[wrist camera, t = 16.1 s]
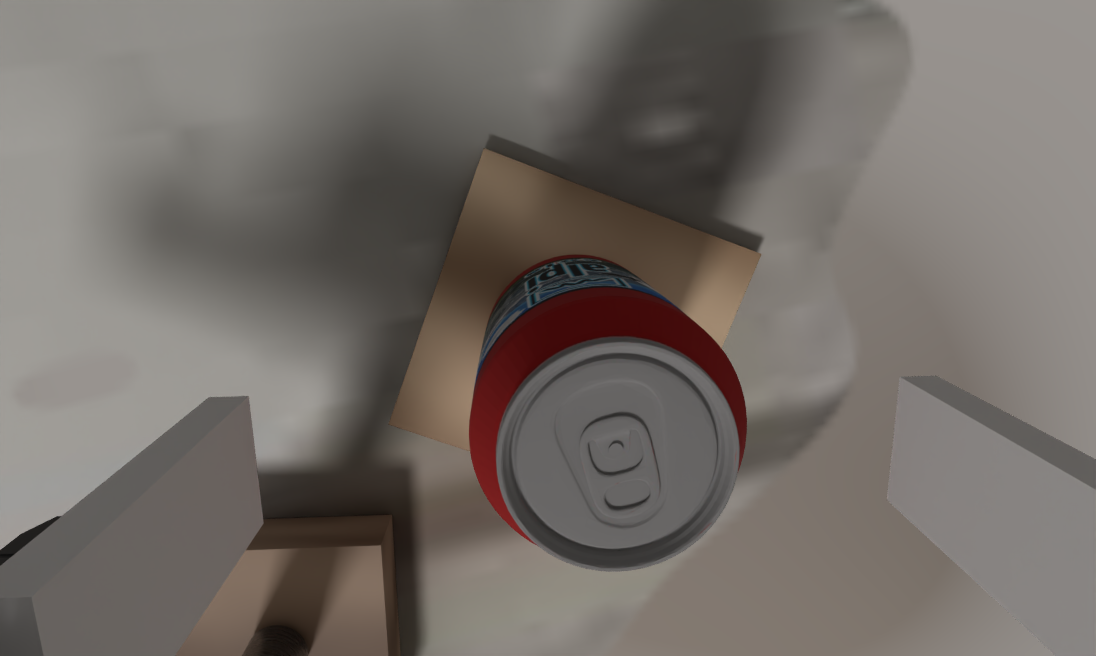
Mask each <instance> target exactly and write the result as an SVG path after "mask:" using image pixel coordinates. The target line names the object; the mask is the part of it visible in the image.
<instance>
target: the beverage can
mask: <svg viewBox="0 0 1096 656" xmlns="http://www.w3.org/2000/svg"><path fill="white" fill-rule="evenodd" d="M746 433H747V417H746V407H745V400H744V396H743V392H742V388H741V385H740V382H739V379H738V377H737V374H736V372H735V370H734V368H733V366H732V364H731V362H730V361H729V359H728V357H727V356H726V354H725V353H724V351H723V350H722V349H721V347H720V346H719V345H718V344H717V342H716V341H715V340H714V339H713V338H712V337H711V336H710V335H709V334H708V333H707V332H706V331H705V330H704V329H703V328H702V327H700V326H699V325H698V324H697V323H696V322H695V321H693V320H692V319H691V318H690V317H689V316H687V315H686V314H685V313H684V312H683V311H682V310H680V309H679V308H678V307H677V306H675V305H674V304H673V303H672V302H670V301H669V300H668V299H666V298H665V297H664V296H663V295H661V294H660V293H659V292H658V291H656V290H655V289H654V288H652V287H651V286H650V285H648V284H647V283H646V282H644V281H643V280H642V279H640V278H639V277H637V276H636V275H634V274H633V273H632V272H630V271H629V270H627V269H626V268H624V267H622V266H620V265H619V264H617V263H614V262H612V261H610V260H607V259H604V258H601V257H596V256H591V255H579V254H575V255H563V256H558V257H553V258H550V259H547V260H544V261H542V262H539V263H537V264H535V265H533V266H531V267H529V268H528V269H526V270H525V271H523V272H522V273H521V274H519V275H518V276H517V277H516V278H515V279H513V280H512V281H511V282H510V283H509V285H508V286H507V287H506V288H505V289H504V290H503V292H502V293H501V294H500V296H499V298H498V299H497V301H496V303H495V305H494V307H493V309H492V311H491V314H490V316H489V320H488V323H487V327H486V331H485V335H484V339H483V344H482V349H481V353H480V358H479V363H478V368H477V374H476V380H475V385H474V392H473V399H472V405H471V412H470V420H469V446H470V453H471V459H472V463H473V467H474V470H475V473H476V476H477V479H478V481H479V483H480V486H481V488H482V490H483V492H484V494H485V495H486V497H487V499H488V500H489V502H490V503H491V505H492V506H493V508H494V509H495V510H496V511H497V513H498V514H499V515H500V516H501V517H502V518H503V519H504V520H505V521H506V522H507V523H508V524H509V525H510V526H511V527H512V528H513V529H514V530H515V531H516V532H518V533H519V534H520V535H521V536H523V537H524V538H526V539H527V540H529V541H530V542H532V543H534V544H535V545H537V546H539V547H540V548H542V549H543V550H544V551H546V552H547V553H549V554H551V555H552V556H554V557H556V558H558V559H560V560H562V561H564V562H566V563H569V564H572V565H575V566H579V567H582V568H586V569H591V570H598V571H629V570H636V569H641V568H645V567H649V566H652V565H655V564H658V563H661V562H663V561H666V560H668V559H670V558H672V557H674V556H676V555H677V554H679V553H681V552H683V551H684V550H686V549H687V548H688V547H690V546H691V545H693V544H694V543H695V542H696V541H697V540H699V539H700V538H701V537H702V536H703V535H704V534H705V533H706V532H707V531H708V530H709V529H710V527H711V526H712V525H713V524H714V523H715V522H716V520H717V519H718V517H719V516H720V514H721V513H722V511H723V509H724V508H725V506H726V504H727V502H728V500H729V498H730V495H731V493H732V491H733V488H734V485H735V481H736V477H737V473H738V471H739V468H740V465H741V461H742V458H743V454H744V449H745V442H746Z"/></svg>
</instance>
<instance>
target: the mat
mask: <svg viewBox="0 0 1096 656" xmlns="http://www.w3.org/2000/svg"><path fill="white" fill-rule="evenodd" d="M575 254H579V255H591V256H596V257H601V258H604V259H607V260H610V261H612V262H614V263H617V264H619V265H620V266H622V267H624V268H626V269H627V270H629V271H630V272H632V273H633V274H634V275H636V276H637V277H639V278H640V279H642V280H643V281H644V282H646V283H647V284H648V285H650V286H651V287H652V288H654V289H655V290H656V291H658V292H659V293H660V294H661V295H663V296H664V297H665V298H666V299H668V300H669V301H670V302H672V303H673V304H674V305H675V306H677V307H678V308H679V309H680V310H682V311H683V312H684V313H685V314H686V315H687V316H689V317H690V318H691V319H692V320H693V321H695V322H696V323H697V324H698V325H699V326H700V327H702V328H703V329H704V330H705V331H706V332H707V333H708V334H709V335H710V336H711V337H712V338H713V339H714V340H715V341H716V342H717V344H718V345H719V346H720V347H721V348H722V346H723V343H724V341H725V339H726V336H727V334H728V332H729V329H730V327H731V325H732V322H733V320H734V318H735V315H736V313H737V311H738V308H739V306H740V303H741V301H742V299H743V296H744V294H745V292H746V289H747V287H748V285H749V282H750V280H751V278H752V275H753V273H754V271H755V268H756V266H757V264H758V261H759V259H760V257H761V254H760V253H757V252H755V251H752V250H749V249H747V248H744V247H742V246H739V245H736V244H734V243H731V242H728V241H726V240H723V239H721V238H718V237H715V236H713V235H710V234H707V233H705V232H702V231H700V230H697V229H694V228H692V227H689V226H687V225H684V224H681V223H679V222H676V221H673V220H671V219H668V218H666V217H663V216H660V215H658V214H655V213H652V212H650V211H647V210H645V209H642V208H639V207H637V206H634V205H631V204H629V203H626V202H624V201H621V200H618V199H616V198H613V197H611V196H608V195H605V194H603V193H600V192H597V191H595V190H592V189H590V188H587V187H584V186H582V185H579V184H576V183H574V182H571V181H569V180H566V179H563V178H561V177H558V176H555V175H553V174H550V173H548V172H545V171H542V170H540V169H537V168H535V167H532V166H529V165H527V164H524V163H521V162H519V161H516V160H514V159H511V158H508V157H506V156H503V155H500V154H498V153H495V152H493V151H490V150H487V149H485V148H484V149H483V152H482V155H481V158H480V161H479V164H478V166H477V169H476V172H475V175H474V178H473V181H472V184H471V187H470V190H469V192H468V195H467V198H466V201H465V204H464V207H463V210H462V213H461V216H460V219H459V221H458V224H457V227H456V230H455V233H454V236H453V239H452V242H451V245H450V247H449V250H448V253H447V256H446V259H445V262H444V265H443V268H442V271H441V274H440V276H439V279H438V282H437V285H436V288H435V291H434V294H433V297H432V300H431V302H430V305H429V308H428V311H427V314H426V317H425V320H424V323H423V326H422V329H421V331H420V334H419V337H418V340H417V343H416V346H415V349H414V352H413V355H412V357H411V360H410V363H409V366H408V369H407V372H406V375H405V378H404V381H403V384H402V386H401V389H400V392H399V395H398V398H397V401H396V404H395V407H394V410H393V412H392V415H391V418H390V421H389V425H392V426H395V427H398V428H401V429H404V430H407V431H410V432H413V433H416V434H419V435H422V436H425V437H428V438H431V439H434V440H437V441H440V442H443V443H446V444H449V445H452V446H455V447H458V448H461V449H464V450H467V451H470V446H469V420H470V412H471V405H472V399H473V392H474V385H475V380H476V374H477V368H478V363H479V358H480V353H481V349H482V344H483V339H484V335H485V331H486V327H487V323H488V320H489V316H490V314H491V311H492V309H493V307H494V305H495V303H496V301H497V299H498V298H499V296H500V294H501V293H502V292H503V290H504V289H505V288H506V287H507V286H508V285H509V283H510V282H511V281H512V280H513V279H515V278H516V277H517V276H518V275H519V274H521V273H522V272H523V271H525V270H526V269H528V268H529V267H531V266H533V265H535V264H537V263H539V262H542V261H544V260H547V259H550V258H553V257H558V256H563V255H575Z"/></svg>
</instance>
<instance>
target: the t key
mask: <svg viewBox="0 0 1096 656" xmlns="http://www.w3.org/2000/svg"><path fill="white" fill-rule="evenodd" d="M242 656H308V647H307V644H306V642H305V640H304V638H303V637H302V636H301V635H300V634H299V633H298V632H297V631H295V630H294V629H292V628H290V627H287V626H282V625H272V626H267V627H264V628H262V629H261V630H259V631H258V632H256V633H255V634H254V636H253V637H252V638H251V640H250V642H249V644H248V645H247V647H246V649H245V651H244V652H243V654H242Z"/></svg>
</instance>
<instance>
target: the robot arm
mask: <svg viewBox="0 0 1096 656" xmlns="http://www.w3.org/2000/svg"><path fill="white" fill-rule="evenodd" d="M887 500H888V501H889V502H890V503H891V504H892V505H893V506H894V507H895V508H896V509H897V510H898V511H899V512H900V513H902V514H903V515H904V516H905V517H906V518H907V519H908V520H909V521H910V522H911V523H912V524H913V525H915V526H916V527H917V528H918V529H919V530H920V531H921V532H922V533H923V534H924V535H925V536H926V537H928V538H929V539H930V540H931V541H932V542H933V543H934V544H935V545H936V546H937V547H938V548H939V549H941V550H942V551H943V552H944V553H945V554H946V555H947V556H948V557H949V558H950V559H951V560H952V561H954V562H955V563H956V564H957V565H958V566H959V567H960V568H961V569H962V570H963V571H964V572H965V573H967V574H968V575H969V576H970V577H971V578H972V579H973V580H974V581H975V582H976V583H977V584H978V585H980V586H981V587H982V588H983V589H984V590H985V591H986V592H987V593H988V594H989V595H990V596H992V598H994V599H995V600H996V601H997V602H998V603H999V604H1000V605H1001V606H1002V607H1003V608H1004V609H1005V610H1007V611H1008V612H1009V613H1010V614H1011V615H1012V616H1013V617H1014V618H1015V619H1016V620H1017V621H1019V622H1020V623H1021V624H1022V625H1023V626H1024V627H1025V628H1026V629H1027V630H1028V631H1029V632H1030V633H1031V634H1033V635H1034V636H1035V637H1036V638H1037V639H1038V640H1039V641H1040V642H1041V643H1042V644H1043V645H1044V646H1046V647H1047V648H1048V649H1049V650H1050V651H1051V652H1052V653H1053V654H1054V655H1055V656H1096V459H1094V458H1092V457H1090V456H1088V455H1086V454H1085V453H1083V452H1081V451H1078V450H1077V449H1075V448H1073V447H1071V446H1069V445H1067V444H1065V443H1063V442H1062V441H1060V440H1058V439H1056V438H1054V437H1052V436H1050V435H1048V434H1046V433H1044V432H1042V431H1041V430H1039V429H1037V428H1035V427H1033V426H1031V425H1029V424H1027V423H1025V422H1023V421H1022V420H1020V419H1018V418H1016V417H1014V416H1012V415H1010V414H1008V413H1006V412H1004V411H1003V410H1001V409H999V408H997V407H995V406H993V405H991V404H989V403H987V402H985V401H983V400H981V399H980V398H978V397H976V396H974V395H972V394H970V393H968V392H966V391H964V390H962V389H960V388H959V387H957V386H955V385H953V384H951V383H949V382H947V381H945V380H943V379H941V378H940V377H937V376H914V377H913V376H912V377H900V380H899V390H898V400H897V410H896V419H895V428H894V438H893V447H892V458H891V466H890V476H889V485H888V495H887ZM263 524H264V522H263V513H262V505H261V497H260V488H259V480H258V471H257V463H256V454H255V446H254V438H253V429H252V421H251V412H250V404H249V396H238V397H209V398H208V399H206V400H205V401H204V402H203V403H201V404H200V405H199V406H198V407H196V408H195V409H194V410H193V411H191V412H190V413H189V414H188V415H186V416H185V417H184V418H183V419H182V420H180V421H179V422H178V423H177V424H175V425H174V426H173V427H172V428H170V429H169V430H168V431H167V432H165V433H164V434H163V435H162V436H160V437H159V438H158V439H157V440H156V441H154V442H153V443H152V444H151V445H149V446H148V447H147V448H146V449H144V450H143V451H142V452H141V453H139V454H138V455H137V456H136V457H134V458H133V459H132V460H131V461H130V462H128V463H127V464H126V465H125V466H123V467H122V468H121V469H120V470H118V471H117V472H116V473H115V474H113V475H112V476H111V477H110V478H108V479H107V480H106V481H105V482H104V483H102V484H101V485H100V486H99V487H97V488H96V489H95V490H94V491H92V492H91V493H90V494H89V495H87V496H86V497H85V498H84V499H82V500H81V501H80V502H79V503H77V504H76V505H75V506H74V507H73V508H71V509H70V510H69V511H68V512H66V513H65V514H64V515H63V516H57V517H55V518H53V519H51V520H49V521H47V522H45V523H43V524H41V525H38V526H36V527H34V528H32V529H30V530H28V531H26V532H24V533H22V534H20V535H19V536H18V537H17V538H15V539H14V540H13V541H11V542H10V543H9V544H8V545H6V546H5V547H4V548H2V549H1V550H0V656H175V655H176V653H177V652H178V651H179V649H180V648H181V646H182V645H183V643H184V642H185V640H186V639H187V637H188V636H189V634H190V633H191V631H192V630H193V628H194V627H195V625H196V624H197V622H198V621H199V619H200V618H201V616H202V615H203V613H204V612H205V610H206V609H207V607H208V606H209V604H210V603H211V601H212V600H213V598H214V597H215V595H216V594H217V592H218V591H219V589H220V588H221V586H222V585H223V583H224V582H225V580H226V579H227V577H228V576H229V574H230V573H231V571H232V570H233V568H234V567H235V565H236V564H237V562H238V561H239V559H240V558H241V556H242V555H243V553H244V552H245V550H246V549H247V547H248V546H249V544H250V543H251V541H252V540H253V538H254V537H255V535H256V534H257V533H258V531H259V530H260V528H261V527H262V525H263Z"/></svg>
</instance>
